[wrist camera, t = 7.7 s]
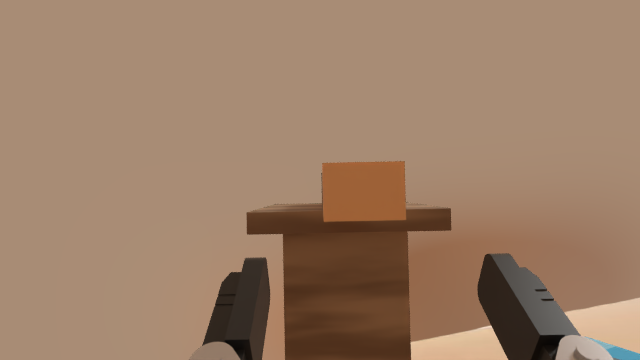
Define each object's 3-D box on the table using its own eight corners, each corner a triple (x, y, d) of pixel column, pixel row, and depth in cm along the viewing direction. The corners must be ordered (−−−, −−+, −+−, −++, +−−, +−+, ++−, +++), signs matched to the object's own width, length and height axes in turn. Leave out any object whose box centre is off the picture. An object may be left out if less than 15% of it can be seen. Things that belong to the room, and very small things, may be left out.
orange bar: (407, 221, 16) (405, 160, 16) (322, 222, 16) (321, 161, 16) (356, 203, 40) (355, 179, 40) (322, 204, 40) (321, 179, 40)
